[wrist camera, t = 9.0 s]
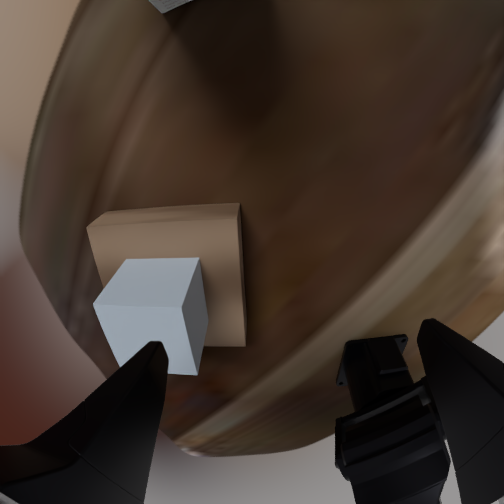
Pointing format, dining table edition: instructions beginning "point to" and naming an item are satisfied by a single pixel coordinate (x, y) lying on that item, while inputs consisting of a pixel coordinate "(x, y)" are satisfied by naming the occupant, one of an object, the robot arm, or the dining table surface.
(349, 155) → the dining table surface
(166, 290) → the slate block
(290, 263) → the dining table surface
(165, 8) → the supplement box
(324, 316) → the dining table surface
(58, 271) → the dining table surface
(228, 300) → the tan flat block
